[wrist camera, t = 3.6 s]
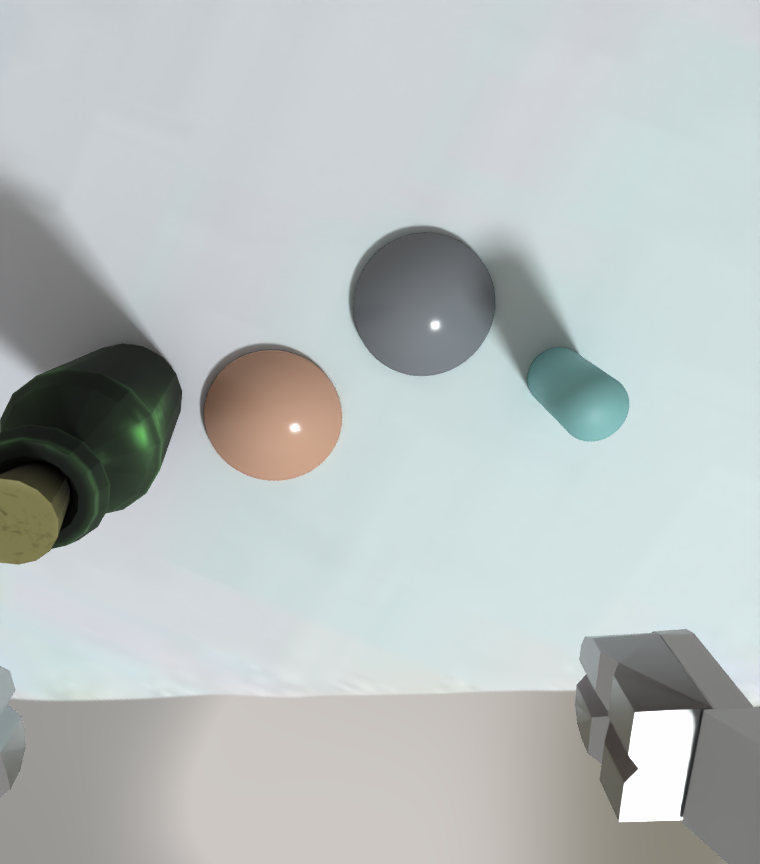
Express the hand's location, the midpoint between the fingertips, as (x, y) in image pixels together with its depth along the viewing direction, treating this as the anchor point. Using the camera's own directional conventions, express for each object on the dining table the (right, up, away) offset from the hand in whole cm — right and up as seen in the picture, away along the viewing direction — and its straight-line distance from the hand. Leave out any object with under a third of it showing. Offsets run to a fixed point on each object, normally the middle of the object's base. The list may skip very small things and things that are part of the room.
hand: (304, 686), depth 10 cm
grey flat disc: (+4, +12, +33) cm, 36 cm away
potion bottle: (-15, +6, +34) cm, 38 cm away
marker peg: (+13, +7, +36) cm, 39 cm away
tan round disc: (-6, +5, +35) cm, 36 cm away
